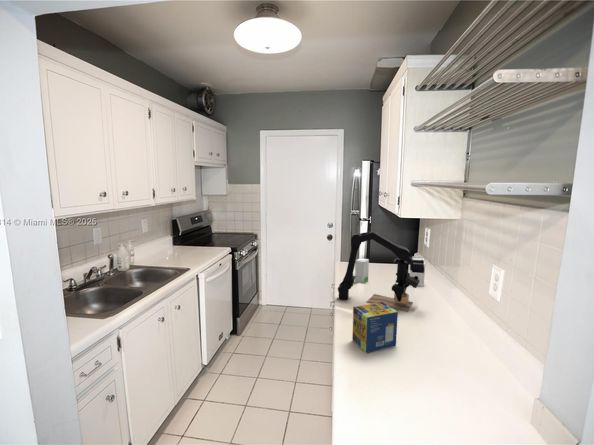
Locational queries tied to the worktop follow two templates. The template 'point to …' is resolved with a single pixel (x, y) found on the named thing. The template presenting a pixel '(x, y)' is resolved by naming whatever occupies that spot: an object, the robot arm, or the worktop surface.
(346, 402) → the worktop surface
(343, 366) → the worktop surface
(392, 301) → the post board
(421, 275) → the milk carton
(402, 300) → the wooden ring
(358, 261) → the skincare box
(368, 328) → the protein box
